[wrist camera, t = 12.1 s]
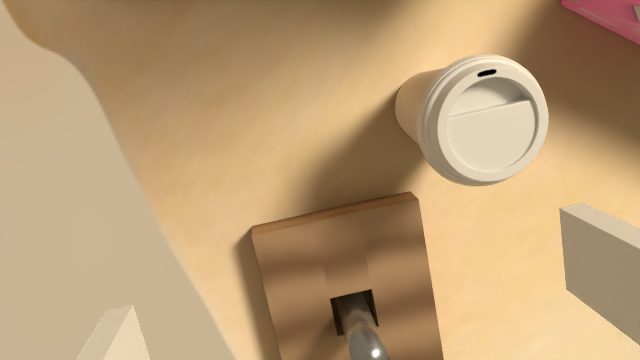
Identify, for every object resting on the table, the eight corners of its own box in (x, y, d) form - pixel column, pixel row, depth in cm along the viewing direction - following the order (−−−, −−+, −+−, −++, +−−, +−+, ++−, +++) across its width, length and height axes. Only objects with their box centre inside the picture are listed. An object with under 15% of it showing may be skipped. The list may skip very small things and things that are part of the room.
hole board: (252, 226, 51) (251, 236, 48) (409, 191, 52) (418, 199, 49) (294, 399, 56) (295, 418, 53) (437, 364, 56) (447, 381, 54)
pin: (332, 289, 53) (351, 353, 42) (361, 282, 53) (387, 344, 42) (338, 315, 54) (358, 385, 42) (366, 308, 54) (393, 376, 42)
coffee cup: (485, 65, 50) (577, 67, 35) (462, 162, 52) (539, 202, 37) (390, 46, 48) (443, 40, 34) (369, 146, 50) (411, 182, 36)
